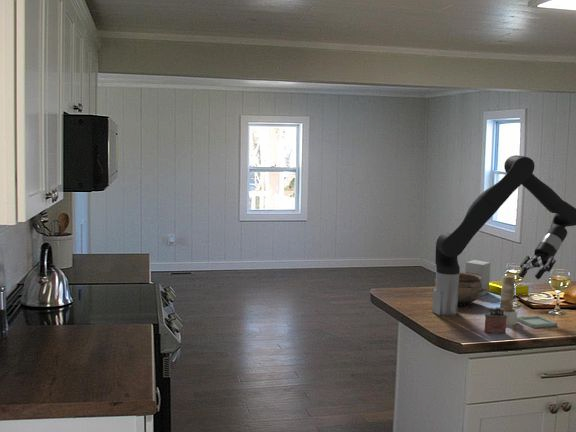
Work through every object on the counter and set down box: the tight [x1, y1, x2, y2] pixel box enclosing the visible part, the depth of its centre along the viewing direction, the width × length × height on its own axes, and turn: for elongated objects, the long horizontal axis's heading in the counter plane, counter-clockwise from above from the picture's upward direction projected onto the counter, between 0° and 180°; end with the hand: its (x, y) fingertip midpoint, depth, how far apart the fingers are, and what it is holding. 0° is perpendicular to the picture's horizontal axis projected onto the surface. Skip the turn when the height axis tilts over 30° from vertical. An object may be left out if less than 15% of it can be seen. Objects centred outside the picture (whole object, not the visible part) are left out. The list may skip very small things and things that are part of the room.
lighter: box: [483, 306, 507, 335], centre depth 238 cm, size 8×3×10 cm, turn 92°
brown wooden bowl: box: [433, 272, 488, 306], centre depth 283 cm, size 25×19×12 cm
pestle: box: [499, 275, 516, 312], centre depth 252 cm, size 5×5×18 cm
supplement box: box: [464, 259, 491, 297], centre depth 303 cm, size 9×9×15 cm
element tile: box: [489, 279, 530, 296], centre depth 308 cm, size 15×15×5 cm
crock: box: [498, 306, 519, 326], centre depth 253 cm, size 8×8×6 cm
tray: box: [517, 315, 558, 329], centre depth 253 cm, size 11×11×2 cm
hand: (528, 277), depth 257 cm, fingers open, 8 cm apart
